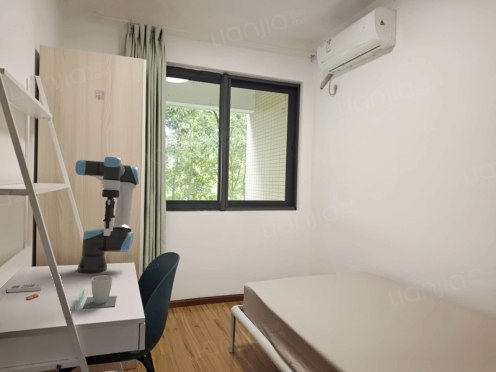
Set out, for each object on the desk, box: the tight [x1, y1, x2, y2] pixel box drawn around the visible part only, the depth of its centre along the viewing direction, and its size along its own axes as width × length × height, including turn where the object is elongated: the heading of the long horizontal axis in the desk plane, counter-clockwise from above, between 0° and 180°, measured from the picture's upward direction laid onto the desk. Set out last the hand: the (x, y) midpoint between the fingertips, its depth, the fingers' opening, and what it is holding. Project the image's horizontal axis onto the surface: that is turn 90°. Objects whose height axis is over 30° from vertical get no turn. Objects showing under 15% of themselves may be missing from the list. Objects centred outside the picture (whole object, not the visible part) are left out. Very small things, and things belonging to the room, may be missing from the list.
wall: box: [74, 288, 85, 311], centre depth 133 cm, size 14×1×4 cm, turn 19°
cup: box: [91, 274, 113, 304], centre depth 136 cm, size 8×8×10 cm
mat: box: [82, 295, 118, 310], centre depth 136 cm, size 12×12×1 cm
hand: (108, 233), depth 153 cm, fingers open, 13 cm apart
